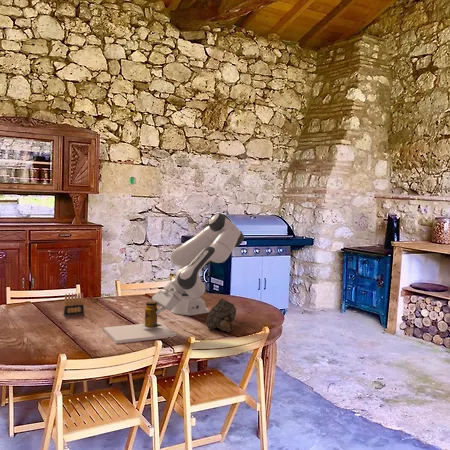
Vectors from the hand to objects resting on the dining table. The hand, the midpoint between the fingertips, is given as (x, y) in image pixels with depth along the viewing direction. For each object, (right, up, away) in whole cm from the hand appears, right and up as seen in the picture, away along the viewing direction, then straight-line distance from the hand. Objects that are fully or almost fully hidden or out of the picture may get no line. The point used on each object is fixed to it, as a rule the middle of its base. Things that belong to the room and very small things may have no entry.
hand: (153, 311), depth 242 cm
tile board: (-7, -10, -4) cm, 13 cm away
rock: (+34, -11, +11) cm, 37 cm away
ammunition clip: (-49, -6, +26) cm, 56 cm away
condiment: (-1, -7, 0) cm, 7 cm away
